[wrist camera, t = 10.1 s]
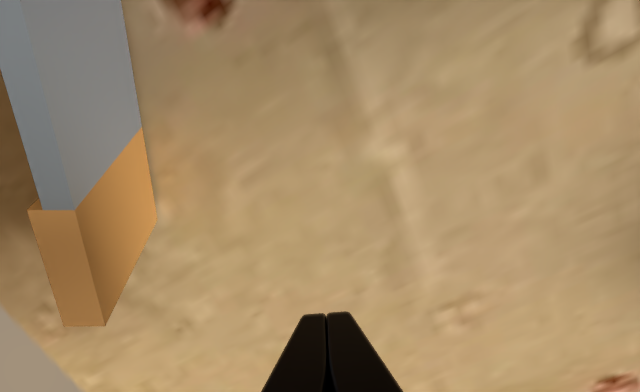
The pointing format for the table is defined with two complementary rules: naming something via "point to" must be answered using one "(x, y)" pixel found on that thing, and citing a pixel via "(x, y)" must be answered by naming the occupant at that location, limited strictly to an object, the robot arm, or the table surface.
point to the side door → (79, 147)
